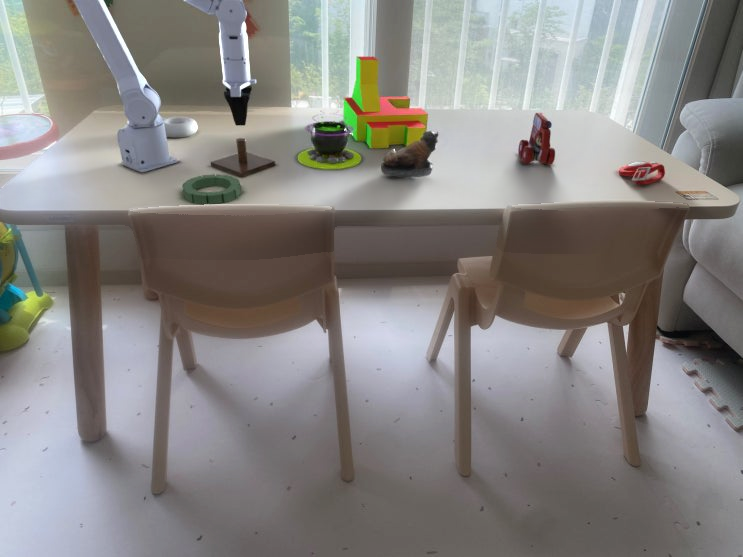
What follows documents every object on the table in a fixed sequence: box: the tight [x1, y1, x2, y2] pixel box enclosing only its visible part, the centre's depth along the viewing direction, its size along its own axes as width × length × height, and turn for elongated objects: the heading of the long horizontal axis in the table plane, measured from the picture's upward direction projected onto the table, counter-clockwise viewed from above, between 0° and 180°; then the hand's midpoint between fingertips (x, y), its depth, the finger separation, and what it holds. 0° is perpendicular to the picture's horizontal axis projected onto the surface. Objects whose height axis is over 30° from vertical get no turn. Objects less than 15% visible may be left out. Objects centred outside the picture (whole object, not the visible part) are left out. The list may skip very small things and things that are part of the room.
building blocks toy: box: [342, 56, 429, 149], centre depth 140 cm, size 19×25×18 cm
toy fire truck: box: [517, 112, 556, 166], centre depth 127 cm, size 7×12×10 cm, turn 178°
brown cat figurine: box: [380, 130, 439, 178], centre depth 115 cm, size 12×7×10 cm, turn 89°
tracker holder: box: [617, 161, 666, 185], centre depth 121 cm, size 12×4×10 cm
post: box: [210, 137, 276, 178], centre depth 118 cm, size 10×10×6 cm
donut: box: [163, 116, 199, 139], centre depth 136 cm, size 10×4×10 cm
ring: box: [181, 173, 242, 205], centre depth 105 cm, size 11×11×2 cm
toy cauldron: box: [297, 111, 362, 170], centre depth 123 cm, size 15×15×11 cm
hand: (241, 122), depth 119 cm, fingers open, 3 cm apart
